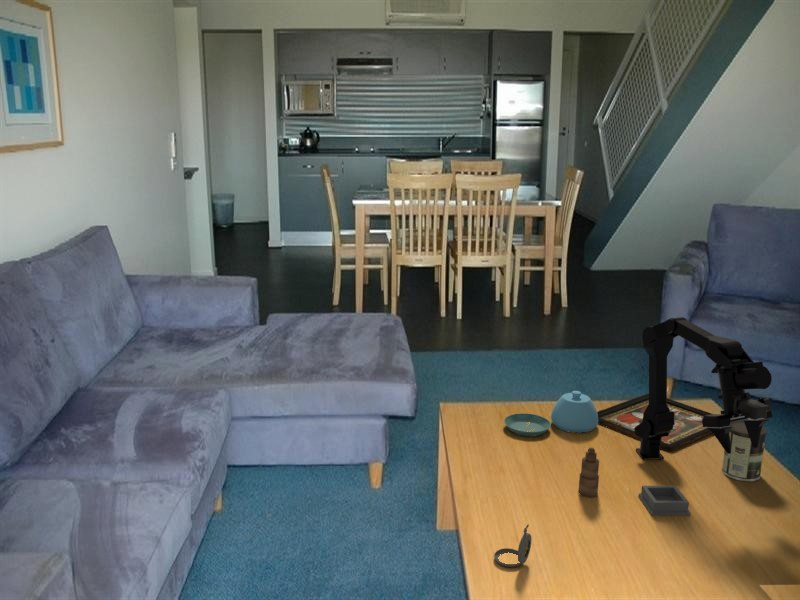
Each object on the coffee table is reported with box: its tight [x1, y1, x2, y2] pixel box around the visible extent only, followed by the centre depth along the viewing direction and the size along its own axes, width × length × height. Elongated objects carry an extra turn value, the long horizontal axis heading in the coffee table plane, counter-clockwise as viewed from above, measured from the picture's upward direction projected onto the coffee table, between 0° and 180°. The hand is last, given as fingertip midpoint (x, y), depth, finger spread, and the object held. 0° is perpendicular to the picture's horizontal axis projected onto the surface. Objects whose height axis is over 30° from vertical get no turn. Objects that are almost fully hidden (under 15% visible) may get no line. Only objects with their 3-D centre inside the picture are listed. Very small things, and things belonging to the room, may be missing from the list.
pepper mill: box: [577, 447, 600, 498], centre depth 205 cm, size 5×5×13 cm
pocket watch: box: [493, 524, 532, 568], centre depth 174 cm, size 8×8×10 cm
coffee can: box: [721, 420, 768, 482], centre depth 218 cm, size 10×10×14 cm
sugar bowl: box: [550, 390, 599, 434], centre depth 250 cm, size 15×15×12 cm
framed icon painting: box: [597, 393, 713, 453], centre depth 254 cm, size 38×35×3 cm
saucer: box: [503, 412, 552, 437], centre depth 247 cm, size 15×15×3 cm
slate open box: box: [637, 485, 692, 517], centre depth 201 cm, size 10×10×3 cm
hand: (742, 450), depth 198 cm, fingers open, 9 cm apart
